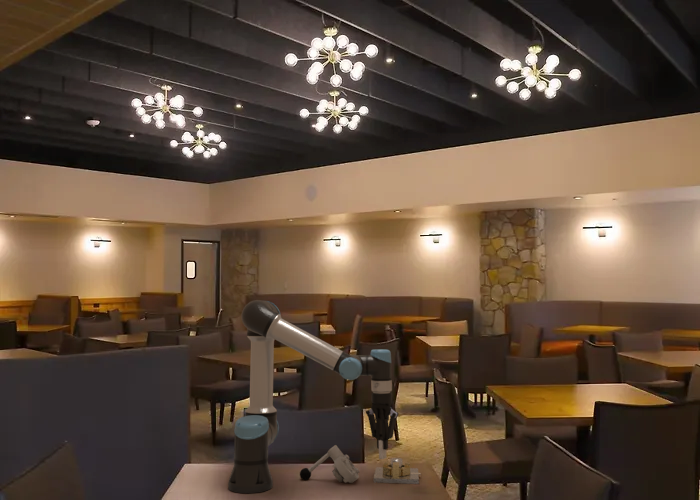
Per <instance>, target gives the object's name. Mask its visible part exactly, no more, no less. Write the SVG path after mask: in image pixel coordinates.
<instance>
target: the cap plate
mask: <svg viewBox="0 0 700 500" xmlns="http://www.w3.org/2000/svg"><path fill="white" fill-rule="evenodd" d="M393 462H399V468H402V463H403V458H401V457H391V458H390V463H391V467H392V468H393ZM419 475H421V472H419V468H417V467H415V468H414V467H413V468H412V467H410V474H409V475H405V476H399V479H393V476H392V475H391V476H389V475H386V474H383V466H381V467H380V466H378V467H377V466H376V467H375V470H374V475H373V483H374V484H375V483H376V482H377V483H376V484H379V483H380V484H409V485H410V484H415V485H419V484H420V478H419Z"/></svg>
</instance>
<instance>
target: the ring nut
mask: <svg viewBox="0 0 700 500" xmlns="http://www.w3.org/2000/svg"><path fill="white" fill-rule="evenodd" d="M382 467H383V474H386V475H389V476H391V475H392V476H393V479H399V476H405V475H409V474H410V468H411V462H410V461H409V462H408V461H405V462H402V468H399V462H393V468H392V467H391V462H389V461H383V462H382Z"/></svg>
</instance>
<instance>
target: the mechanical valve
mask: <svg viewBox="0 0 700 500" xmlns="http://www.w3.org/2000/svg"><path fill="white" fill-rule="evenodd" d="M329 457H330V458H331V459H332V460H333V462H334V463H333V465H332V467H333V468H334V469H333V470H332V474H333V476H334V478H335V480H337V482H339V483H343V482H344V483H345V484H346V483H349V484H353V483H354V482H356V480H358V479H359V477H360V475H359V473H360V468H358V467H356V466H355V465H354V463H353V462H352V461H351V460H350V456H349V455H348V454H347V453H346V454H344V453H343V452H342V451H341V449H340V447H338V446H337V444H335V445H333V446H332V447H331V448H329V449H328V451H327V453H325V454H324V455H323V456H321V457H320V459H318V460H317V461H316V462H315V463H314V464H312V465H311V466H310V467H309V468H307V467H304V468H302V469H301V470H300V472H299V477H300V479H301V480H304V481H308V480H309V479H311V476H312V472H313V471H315V469H317V468H318V467H319V466H320V465H321V464H323V463H324V462H325V461H326V460H327V459H328V458H329Z"/></svg>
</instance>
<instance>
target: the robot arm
mask: <svg viewBox="0 0 700 500" xmlns="http://www.w3.org/2000/svg"><path fill="white" fill-rule="evenodd" d="M240 318H241V322H242V324H243V326H244V327H245V328H246V337H247V338H248V340H249V341H250V371H249V372H250V373H249V374H250V375H249V406H248V407H247V408H246V409H245V411H244V412H245V414H244V416H241V417H239V418H237V420H236V421H235V424H234V431H233V432H234V441H233V442H234V444H233V445H234V446H233V447H234V448H233V449H234V450H233V451H234V452H233V453H234V454H233V467H232V469H231V474H230V476H229V478H228V482H227V485H228V486H227V487H228V490H229V491H231V492H233V493H240V494H255V493H257V494H258V493H261V492H267V491H269V490H271V489H272V488H273V477H272V474H271V471H270V470H271V469H270V466H269V446H271V444H273V443H274V442H275V440H276V439H277V437H278V435H279V431H280V430H279V429H280V426H279V421H278V419H277V418H278V417H277V415H278V411H277V408H275V406H274V403H273V402H274V398H273V397H274V361H275V359H274V354H275V353H274V351H275V349H274V347H275V346H274V345H275V340H276V341H277V342H279V343H281V344H283V345H285V346H287V347H289V348H290V349H292V350H294V351H296V352H298V353H300V354H302V355H303V356H305V357H307V358H309V359H311V360H313V361H315V362H316V363H318V364H320V365H322V366H324V367H326V368H327V369H330V370H331V371H333V372H335V373H336V374H339V376H341V377H342V378H343V379H345V380H348V381H354V380H357V379H358V378H359V377H360V376H361V377H362V376H363V377H364V376H367V377H368V376H370V380H371V382H370V383H371V388H370V389H371V392H372V393H371V397H370V398H371V407H370V408H369V409H368V410H366V411H365V414H366V416H367V417H368V422H369V428H370V432H371V437H372V438H374V439H376V448H377V449H378V459H379V460H384V459H387V450H388V449H389V440H390V439H393V437H394V432H395V428H396V421H397V418H398V417H399V412H398V411H397V412H396V411H395V410H394V408H393V406H392V405H393V404H392V403H393V393H392V391H393V384H392V382H393V381H392V379H393V378H392V374H393V373H392V354H391V353H392V352H391V351H390V350H389V349H371V351H370V354H365V355H363V354H361V355H360V354H359V355H358V354H349V353H347V352H345V351H343V350H341V349H339V348H338V347H336V346H333V345H332V344H330V343H328V342H326V341H324V340H322V339H320V338H319V337H316V336H315V335H313V334H311V333H309V332H308V331H306V330H304V329H302V328H300V327H298V326H296V325H294V324H293V323H290V322H289V321H287V320H285V319H283V317H282V315H281V311H280V310H279V308H278V307H277V305H275V303H273V302H271V301H268V300H260V299H256V300H255V299H254V300H251V301H249V302H248V303H246V305H245V306H244V307H243V309H242V311H241V317H240Z"/></svg>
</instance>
